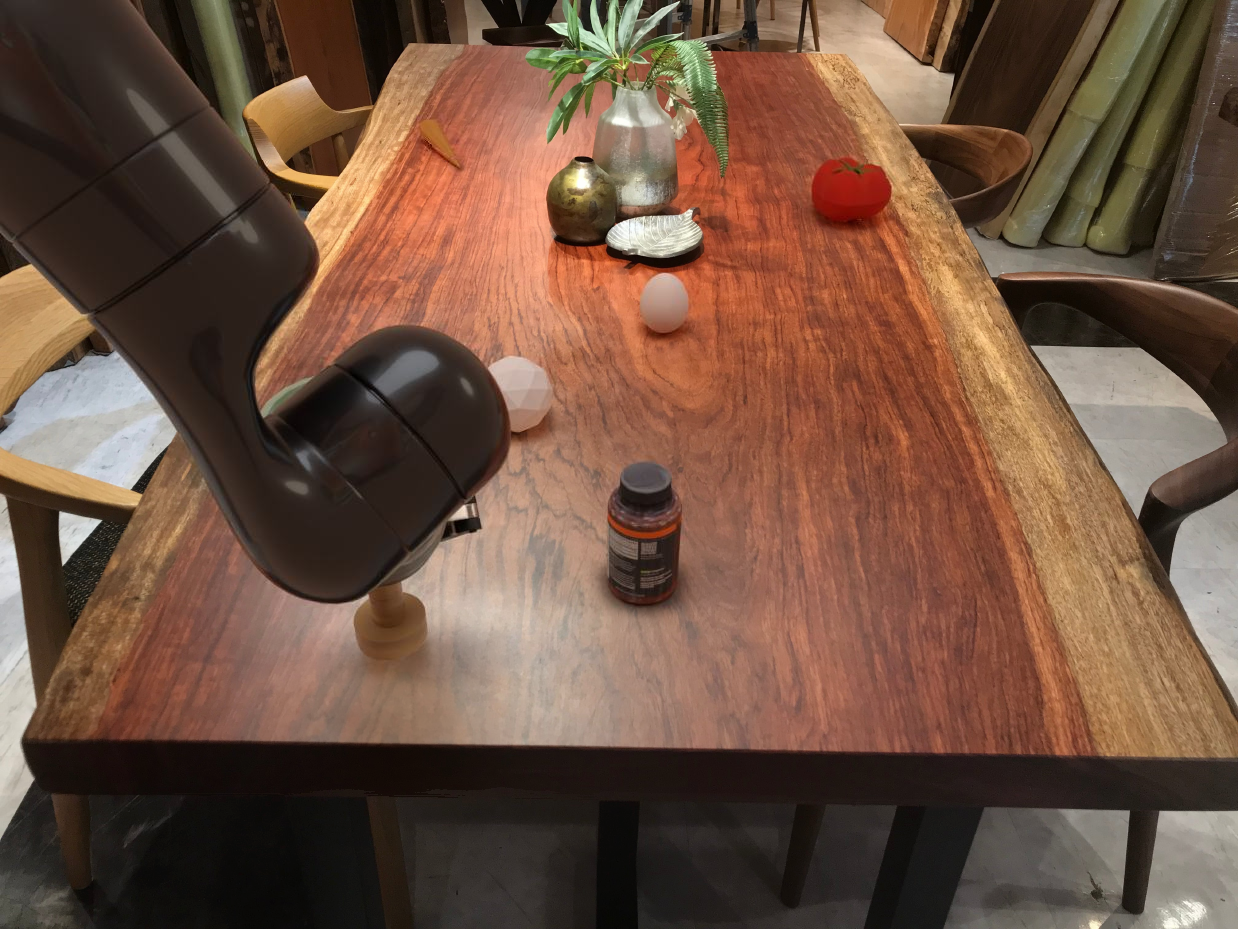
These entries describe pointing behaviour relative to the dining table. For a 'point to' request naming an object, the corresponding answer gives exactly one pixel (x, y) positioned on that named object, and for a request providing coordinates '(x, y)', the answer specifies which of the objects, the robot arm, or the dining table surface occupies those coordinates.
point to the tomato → (850, 190)
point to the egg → (664, 303)
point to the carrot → (437, 138)
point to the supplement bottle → (643, 534)
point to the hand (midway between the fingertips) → (376, 542)
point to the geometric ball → (523, 390)
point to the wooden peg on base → (390, 624)
